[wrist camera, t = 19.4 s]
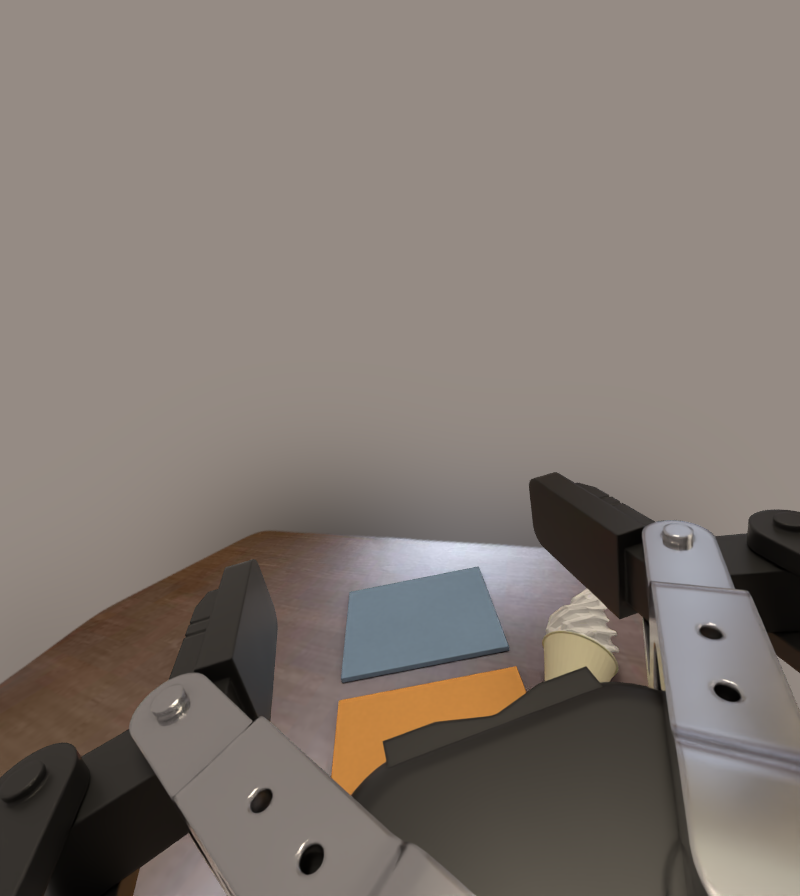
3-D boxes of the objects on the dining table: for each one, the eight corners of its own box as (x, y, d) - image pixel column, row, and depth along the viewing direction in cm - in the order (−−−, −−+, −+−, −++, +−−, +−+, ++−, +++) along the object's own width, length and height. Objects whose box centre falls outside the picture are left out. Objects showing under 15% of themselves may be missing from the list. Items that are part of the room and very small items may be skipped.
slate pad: (479, 570, 45) (478, 566, 45) (509, 650, 35) (508, 646, 34) (350, 595, 45) (349, 591, 45) (342, 683, 35) (340, 678, 35)
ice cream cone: (498, 736, 25) (557, 555, 35) (520, 781, 27) (569, 597, 37) (589, 772, 22) (624, 561, 32) (605, 819, 24) (634, 607, 34)
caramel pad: (517, 670, 33) (516, 665, 32) (581, 842, 22) (581, 836, 22) (340, 705, 33) (338, 700, 33) (322, 890, 23) (320, 884, 22)
